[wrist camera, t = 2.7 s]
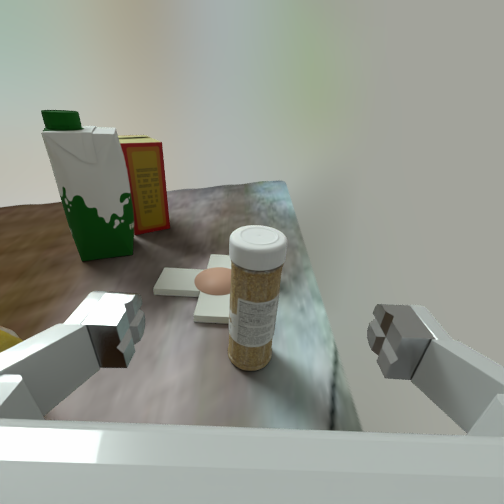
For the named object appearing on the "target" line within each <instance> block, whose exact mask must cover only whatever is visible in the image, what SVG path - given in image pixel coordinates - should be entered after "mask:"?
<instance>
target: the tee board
mask: <svg viewBox="0 0 504 504" xmlns="http://www.w3.org/2000/svg"><path fill="white" fill-rule="evenodd" d="M230 288H231V259H230V256H229V255H214V254H211V257H210V260H209V263H208V267H207V269H206V270H201V269H183V268H164V270H163V271H162V273H161V275H160V277H159V279H158V281H157V282H156V284H155V286H154V288H153V291H154V295H167V296H186V297H199V298H198V302H197V305H196V308H195V312H194V322H205V323H225V324H229V304H230V303H229V300H230Z"/></svg>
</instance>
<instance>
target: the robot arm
mask: <svg viewBox="0 0 504 504" xmlns="http://www.w3.org/2000/svg"><path fill="white" fill-rule="evenodd" d="M141 305H142V299H141V295H139V294H138V293H122V292H104V291H93V292H91V293H90V294H89V295H88V296H87V297H86V298H85V299H84V301H83V302H82V303H81V304H80V305H79V306H78V308H77V309H76V310H75V311H74V312H73V313H72V314H71V316H70V317H69V318H68V319H67V320H66V321H65V322H64V324H57V325H55V326H53V327H51V328H49V329H47V330H45V331H43V332H41V333H39V334H37V335H35V336H33V337H31V338H29V339H27V340H25V341H23V342H21V343H19V344H17V345H15V346H13V347H11V348H9V349H7V350H5V351H3V352H1V353H0V504H504V367H503V366H501V365H500V364H498V363H496V362H494V361H493V360H491V359H489V358H488V357H486V356H484V355H482V354H481V353H479V352H477V351H475V350H474V349H472V348H470V347H469V346H467V345H465V344H463V343H462V342H460V341H456V340H453V339H452V338H451V337H450V336H449V334H448V333H447V332H446V331H445V330H444V328H443V327H442V326H441V325H440V324H439V322H438V321H437V320H436V319H435V318H434V317H433V316H432V314H431V313H430V312H429V311H428V309H427V308H426V307H424V306H422V305H386V304H377V305H376V307H375V309H374V311H373V315H374V316H375V319H374V320H373V321H371V322H370V323H369V326H368V330H367V338H368V343H369V346H370V348H371V350H372V351H373V352H375V353H376V354H377V355H378V359H377V363H378V365H379V367H380V369H381V371H382V373H383V375H384V377H385V378H388V379H403V380H404V379H405V380H411V382H412V383H413V384H415V386H417V387H418V388H419V389H420V390H421V391H422V392H423V393H424V394H425V395H426V396H427V397H428V398H430V399H431V400H432V401H433V402H434V403H435V404H436V405H437V406H438V407H439V408H440V409H441V410H443V411H444V412H445V413H446V414H447V415H448V416H449V417H450V418H451V419H452V420H453V421H454V422H455V423H456V424H458V425H459V426H460V427H461V428H462V429H463V430H464V431H465V432H466V433H467V435H441V434H440V435H439V434H414V433H386V432H385V433H384V432H357V431H329V430H301V429H275V428H248V427H222V426H195V425H168V424H141V423H114V422H87V421H60V420H45V419H44V417H43V416H45V415H46V414H47V413H48V412H49V411H51V410H52V409H53V408H54V407H55V406H57V405H58V404H59V403H60V402H61V401H63V400H64V399H65V398H66V397H67V396H69V395H70V394H71V393H72V392H73V391H75V390H76V389H77V388H78V387H79V386H80V385H82V384H83V383H84V382H85V381H86V380H88V379H89V378H90V377H91V376H92V375H94V374H95V373H96V372H97V371H98V370H100V368H127V367H128V365H129V363H130V361H131V359H132V357H133V355H134V353H135V348H134V345H135V344H136V343H138V342H139V341H140V340H141V338H142V336H143V333H144V329H145V314H144V313H143V312H142V311H141V310H140V307H141Z"/></svg>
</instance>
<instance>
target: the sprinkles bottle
mask: <svg viewBox="0 0 504 504" xmlns="http://www.w3.org/2000/svg"><path fill="white" fill-rule="evenodd" d="M286 251H287V238H286V236H285V235H284V234H283V233H282V232H280V231H278V230H276V229H274V228H271V227H267V226H259V225H252V226H245V227H241V228H238V229H236V230H235V231H233V232H232V234H231V236H230V244H229V256H230V259H231V288H230V300H229V303H230V304H229V346H228V356H229V359H230V360H231V362H232V363H233V364H234V365H235V366H237V367H238V368H240V369H242V370H249V371H255V370H259V369H262V368H263V367H265V366H266V365H267V364H268V363H269V361H270V359H271V355H272V349H271V346H272V337H273V335H274V330H275V322H276V315H277V308H278V300H279V293H280V288H279V287H280V278H281V271H282V267H283V264H284V261H285V258H286Z"/></svg>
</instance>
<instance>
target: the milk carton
mask: <svg viewBox="0 0 504 504" xmlns="http://www.w3.org/2000/svg"><path fill="white" fill-rule="evenodd" d="M41 112H42V117H43V120H44V124H45V127H46V128H44V130H43V132H42V133H41V134H42V137H43V140H44V143H45V146H46V149H47V153H48V156H49V159H50V162H51V165H52V169H53V173H54V176H55V180H56V183H57V186H58V190H59V193H60V197H61V200H62V204H63V207H64V211H65V214H66V218H67V221H68V224H69V227H70V230H71V233H72V236H73V238H74V241H75V244H76V246H77V249H78V252H79V254H80V257H81V260H82V261H88V260H96V259H104V258H111V257H119V256H127V255H133V239H134V211H133V204H132V198H131V191H130V185H129V179H128V173H127V168H126V163H125V159H124V155H123V152H122V148H121V145H120V142H119V138H118V135H117V132H116V128H102V127H96V126H81V122H80V118H79V113H78V112H77V111H66V110H42V111H41Z"/></svg>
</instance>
